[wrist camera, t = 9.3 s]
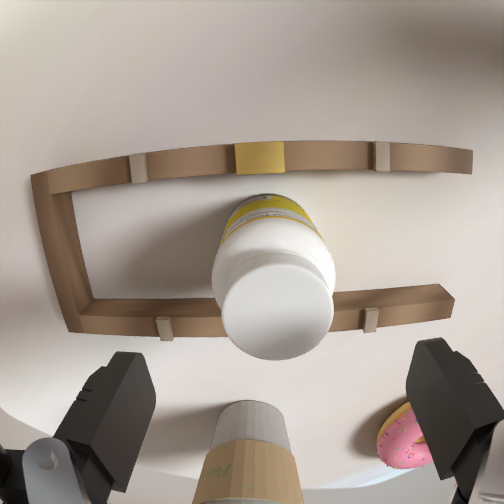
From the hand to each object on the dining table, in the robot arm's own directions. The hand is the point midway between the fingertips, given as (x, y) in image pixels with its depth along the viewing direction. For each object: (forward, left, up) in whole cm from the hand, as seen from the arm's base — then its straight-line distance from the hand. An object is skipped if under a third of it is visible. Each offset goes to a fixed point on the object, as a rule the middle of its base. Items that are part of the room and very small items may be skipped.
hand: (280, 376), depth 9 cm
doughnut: (-15, +20, -13) cm, 28 cm away
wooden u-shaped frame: (0, 0, -12) cm, 12 cm away
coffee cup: (+2, +17, -13) cm, 21 cm away
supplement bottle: (0, 0, -13) cm, 13 cm away
